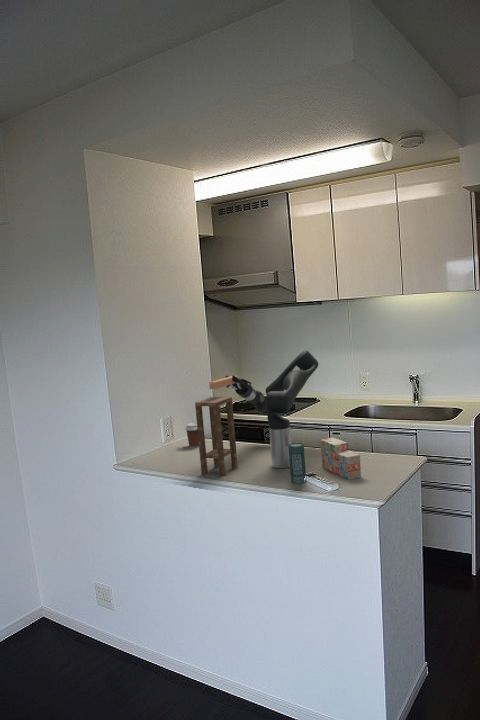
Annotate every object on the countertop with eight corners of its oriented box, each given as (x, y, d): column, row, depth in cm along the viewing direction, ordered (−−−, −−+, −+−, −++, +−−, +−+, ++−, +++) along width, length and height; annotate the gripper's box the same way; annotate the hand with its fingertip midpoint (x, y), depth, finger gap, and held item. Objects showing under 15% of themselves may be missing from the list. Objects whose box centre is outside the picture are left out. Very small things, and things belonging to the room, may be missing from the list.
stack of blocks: (361, 477, 227) (359, 447, 225) (348, 480, 224) (346, 449, 223) (334, 464, 247) (332, 436, 245) (321, 466, 244) (319, 439, 243)
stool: (237, 467, 253) (231, 397, 250) (223, 476, 242) (217, 402, 238) (216, 466, 258) (210, 396, 255) (201, 474, 247) (195, 402, 243)
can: (306, 478, 230) (303, 442, 229) (306, 483, 224) (303, 446, 223) (291, 478, 231) (288, 442, 230) (290, 483, 225) (288, 446, 224)
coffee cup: (204, 447, 293) (202, 424, 292) (187, 449, 292) (185, 426, 291) (203, 443, 302) (201, 421, 301) (186, 445, 301) (184, 423, 300)
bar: (233, 382, 269) (232, 375, 269) (238, 382, 268) (238, 375, 267) (209, 389, 251) (209, 382, 250) (215, 389, 249) (215, 382, 249)
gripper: (257, 398, 272) (241, 385, 258) (232, 397, 279) (215, 385, 265) (260, 383, 275) (244, 369, 261) (234, 383, 282) (218, 370, 268)
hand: (229, 377), depth 263 cm, fingers closed on bar, 3 cm apart
